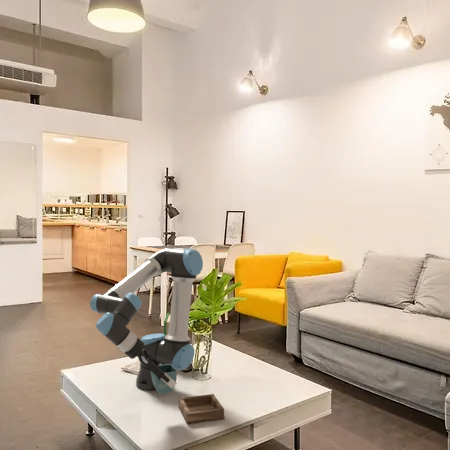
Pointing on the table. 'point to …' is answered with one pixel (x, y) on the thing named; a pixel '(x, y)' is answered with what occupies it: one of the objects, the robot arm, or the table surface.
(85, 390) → the table surface
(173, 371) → the flower pot
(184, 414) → the wooden tray
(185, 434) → the table surface
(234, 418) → the table surface
